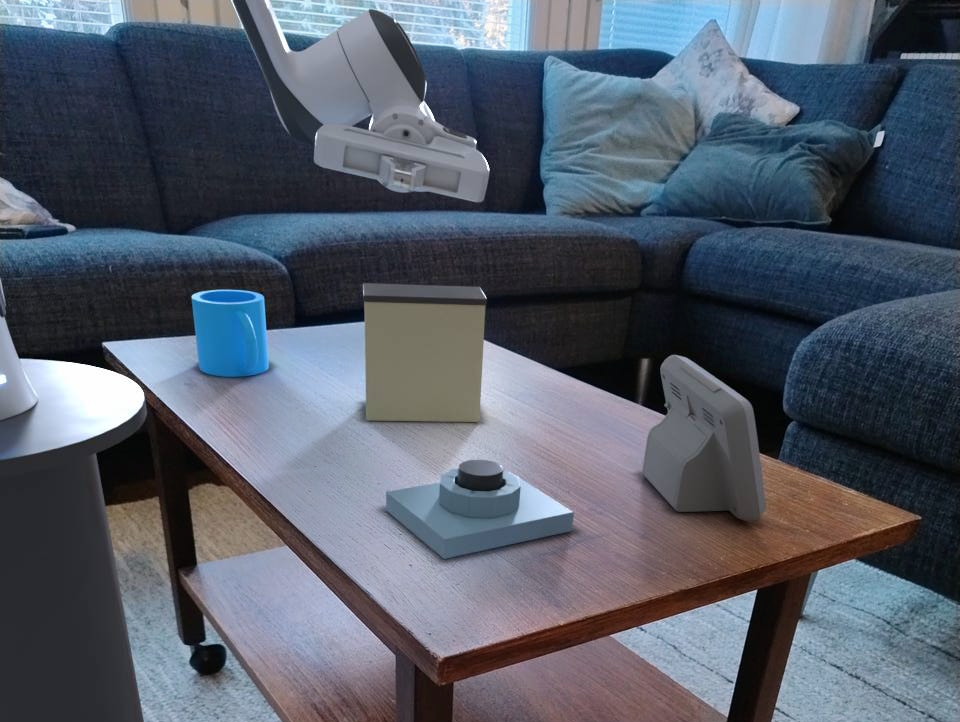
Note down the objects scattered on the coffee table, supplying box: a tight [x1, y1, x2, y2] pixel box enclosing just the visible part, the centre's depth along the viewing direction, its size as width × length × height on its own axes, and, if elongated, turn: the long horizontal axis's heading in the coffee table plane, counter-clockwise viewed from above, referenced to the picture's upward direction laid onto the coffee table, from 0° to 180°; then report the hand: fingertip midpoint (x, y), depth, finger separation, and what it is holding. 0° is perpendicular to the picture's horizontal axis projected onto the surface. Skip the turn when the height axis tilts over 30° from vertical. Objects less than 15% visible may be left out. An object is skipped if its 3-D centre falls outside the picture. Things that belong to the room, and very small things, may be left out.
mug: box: [191, 289, 270, 378], centre depth 106 cm, size 12×8×8 cm
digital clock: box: [641, 354, 767, 522], centre depth 80 cm, size 16×9×11 cm, turn 179°
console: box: [362, 282, 488, 423], centre depth 95 cm, size 6×12×13 cm, turn 97°
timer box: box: [385, 467, 575, 560], centre depth 74 cm, size 12×10×4 cm
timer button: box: [457, 459, 504, 491], centre depth 73 cm, size 4×4×2 cm
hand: (402, 180), depth 100 cm, fingers closed
